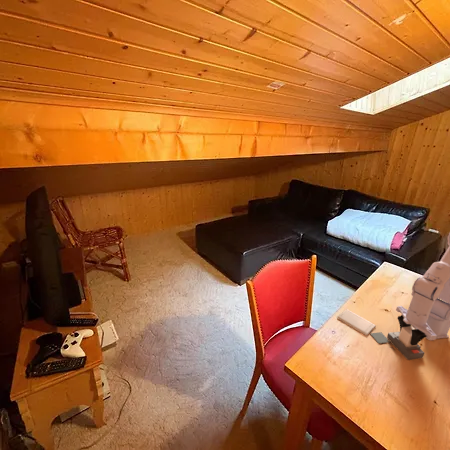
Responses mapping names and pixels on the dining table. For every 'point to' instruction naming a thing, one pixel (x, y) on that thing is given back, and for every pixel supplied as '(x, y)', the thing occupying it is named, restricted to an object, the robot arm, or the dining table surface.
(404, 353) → the gray recessed box
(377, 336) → the coaster
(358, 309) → the dining table surface
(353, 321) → the hard drive
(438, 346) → the dining table surface
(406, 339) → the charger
